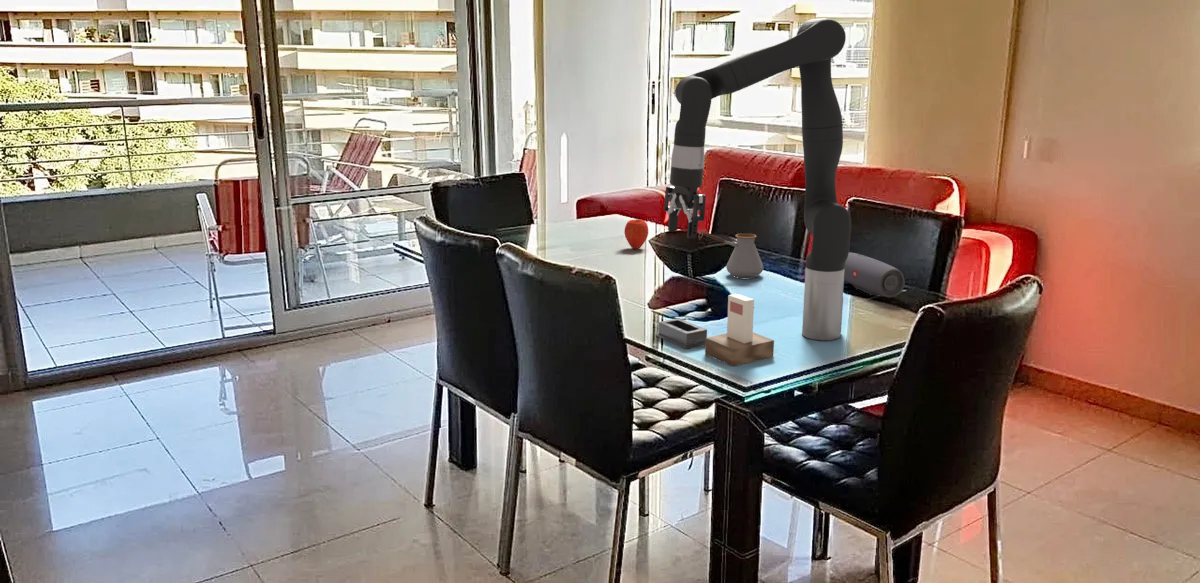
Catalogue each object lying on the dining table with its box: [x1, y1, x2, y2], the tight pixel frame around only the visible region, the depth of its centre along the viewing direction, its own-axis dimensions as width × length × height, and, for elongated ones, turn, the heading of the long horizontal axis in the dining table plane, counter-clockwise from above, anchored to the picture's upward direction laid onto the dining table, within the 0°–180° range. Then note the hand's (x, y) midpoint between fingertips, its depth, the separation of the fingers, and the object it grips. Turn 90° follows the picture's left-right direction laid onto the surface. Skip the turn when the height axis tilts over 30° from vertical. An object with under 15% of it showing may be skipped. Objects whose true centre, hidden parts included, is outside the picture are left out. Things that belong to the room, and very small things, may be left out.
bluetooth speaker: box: [844, 251, 906, 298], centre depth 267 cm, size 23×9×10 cm, turn 18°
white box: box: [726, 293, 755, 343], centre depth 212 cm, size 3×6×10 cm, turn 31°
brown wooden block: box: [704, 331, 775, 367], centre depth 214 cm, size 12×10×4 cm
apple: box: [624, 218, 649, 250], centre depth 325 cm, size 9×8×11 cm
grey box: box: [655, 317, 708, 350], centre depth 226 cm, size 7×12×4 cm, turn 32°
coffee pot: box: [698, 231, 764, 279], centre depth 284 cm, size 21×12×15 cm, turn 108°
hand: (681, 234), depth 217 cm, fingers open, 8 cm apart
